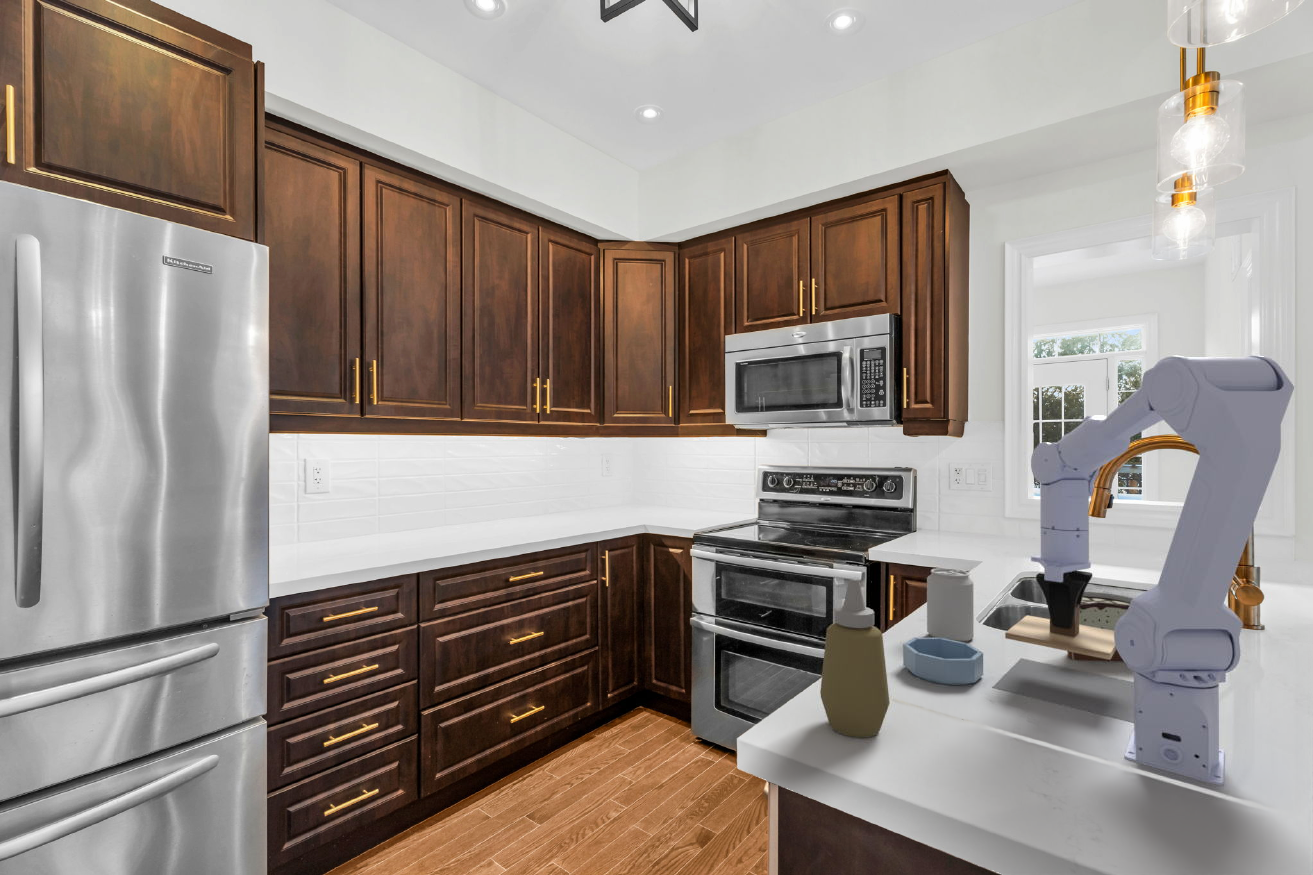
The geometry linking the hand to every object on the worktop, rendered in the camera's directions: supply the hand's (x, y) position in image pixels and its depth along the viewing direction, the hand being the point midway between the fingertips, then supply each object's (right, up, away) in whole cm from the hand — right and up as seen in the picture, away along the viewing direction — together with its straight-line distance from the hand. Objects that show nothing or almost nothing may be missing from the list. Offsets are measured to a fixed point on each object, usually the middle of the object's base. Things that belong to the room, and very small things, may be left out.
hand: (1064, 624), depth 87 cm
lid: (0, -2, 0) cm, 2 cm away
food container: (+13, -9, +13) cm, 21 cm away
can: (-6, -9, +22) cm, 25 cm away
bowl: (-15, -9, +5) cm, 18 cm away
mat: (+1, -9, 0) cm, 9 cm away
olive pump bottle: (-34, -9, -12) cm, 37 cm away
